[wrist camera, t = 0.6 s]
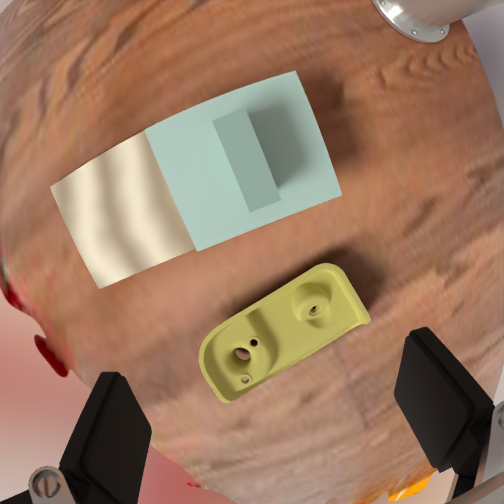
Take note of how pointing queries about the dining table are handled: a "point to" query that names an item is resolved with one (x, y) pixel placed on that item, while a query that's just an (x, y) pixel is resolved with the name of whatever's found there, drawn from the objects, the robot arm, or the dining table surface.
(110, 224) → the board
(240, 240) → the dining table surface
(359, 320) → the plastic component
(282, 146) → the lid
